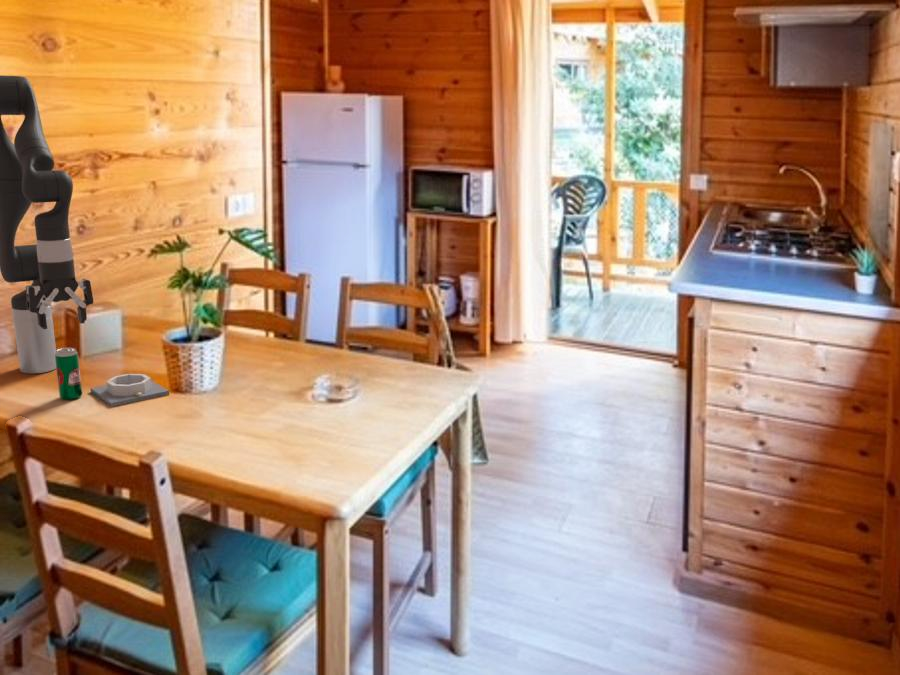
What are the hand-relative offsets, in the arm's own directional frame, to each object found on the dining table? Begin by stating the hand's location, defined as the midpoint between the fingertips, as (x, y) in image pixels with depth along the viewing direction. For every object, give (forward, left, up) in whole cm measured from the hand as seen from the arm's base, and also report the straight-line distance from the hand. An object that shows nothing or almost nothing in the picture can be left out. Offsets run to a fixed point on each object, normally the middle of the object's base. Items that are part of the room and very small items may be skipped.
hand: (63, 325), depth 203 cm
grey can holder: (+6, +12, -18) cm, 22 cm away
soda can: (0, 0, -18) cm, 18 cm away
